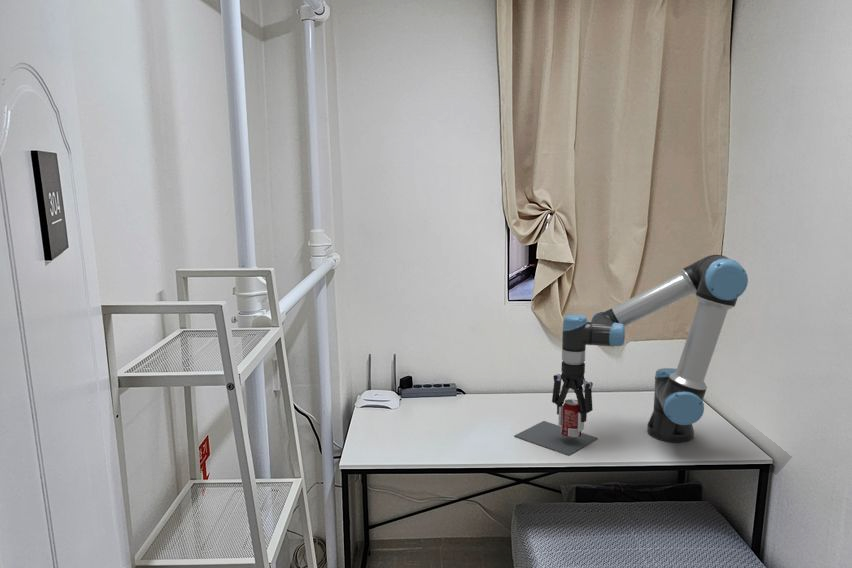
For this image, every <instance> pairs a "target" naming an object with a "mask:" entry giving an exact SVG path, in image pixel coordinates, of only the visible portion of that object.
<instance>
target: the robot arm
mask: <svg viewBox="0 0 852 568" xmlns="http://www.w3.org/2000/svg"><path fill="white" fill-rule="evenodd" d="M748 277H749V276H748V273H747V271H746V270H745V268H744V267H743V265H741V263H739V262H738V261H736V260H733V259H731V258H729V257H727V256H725V255H723V254H711V255H707V256H704V257H703V258H701V259H698V260H697V261H694V262H693V263H691V264H690V265H689V264H688V265H687V266H686V267H683V268H682V269H681V271H680V273H678V274H676V275H675V276H673V277H670V278H668V279H667V280H665V281H662V282H661V283H659V284H657V285H655V286H653V287H651V288H649V289H647V290H645V291H643V292H641V293H638V294H637V295H635V296H633V297H631V298H630V299H628V300H625V301H623V302H621V303H619V304H617V305H615V306H614V307H611V308H609V309H607V310H604V311H599V312H596V313H594V314H593V315H592V318H591V321H588V319H587V316H585V315H582V314H566V315H565V316H564V317H563V320H562V321H563V322H562V337H561V339H562V341H561V342H562V344H561V346H562V347H561V360H562V362H561V374H560V373H556V374H554V375H553V388H552V389H553V390H552V399H551V402H552V404H555V405H556V414H557V415H558V424H557V425H559V426H561V421H562V407H563V405H564V403H565V400H566V397H567V395H568V392H569V390H570V389H571V390H573V392H574V393H575V396H576V400H578V404H579V408H580V411H581V412H579V413H578V432H580V431H581V432H582V431H584V430H585V423H586V422H587V416H588V415H587V414H588V413H590V412H592V411H593V395H592V389H593V384H594V383H593V382H592V381H587V380H586V378H585V371H586V363H585V362H586V348H587V347H586V346H599V347H601V346H602V347H622V346H623V345H624V343H625V339H626V332H625V331H626V329H625V328H626V326H628V325H630V324H633V323H636V321H639V320H641V319H643V318H645V317H647V316H649V315H651V314H653V313H655V312H657V311H659V310H662V309H663V308H665V307H668V306H670V305H672V304H674V303H676V302H677V301H680V300H681V299H684V298H686V297H688V296H690V295H695V297H696V299H697V301H698V303H697V307H696V310H695V313H694V316H693V318H692V320H691V321H692V322H691V324H690V327H689V330H688V334H687V337H686V340H685V343H684V347H683V349H682V351H681V352H682V353H681V355H680V359H679V361H678V364H677V368H670V367H669V368H668V367H664V368H663V367H662V368H658V369H656V371H655V377H654V397H653V411H652V413H651V415H650V418H649V421H648V422H647V426H646V431H647V434H648V435H649V436H651V437H652V438H655V439H657V440H660V441H663V442H669V443H687V442H690V441H691V440H693V439H694V435H695V430H694V426H693V424H695V423H697V422H699V420H700V419H701V418H702V417H703V415H704V413H705V403H704V399H705V398H704V397H705V394H706V392H707V389H708V386H707V385H706V383H705V378H706V375H707V373H708V370H709V367H710V363H711V361H712V358H713V355H714V353H715V349H716V346H717V343H718V339H719V337H720V335H721V332H722V328H723V326H724V322H725V319H726V316H727V314H728V311H729V310H731V309H732V308H735V307H736V304H737V301H738V298H740V296H742V295H743V294H744V293H745V291H746V290H747V287H748V284H749V278H748ZM562 382H563V384H562ZM561 386H562V387H561ZM583 388H584V389H583Z"/></svg>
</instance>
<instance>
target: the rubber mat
mask: <svg viewBox="0 0 852 568" xmlns="http://www.w3.org/2000/svg"><path fill="white" fill-rule="evenodd" d="M513 436H514V438H517V439H520V440H522V441H525V442H529V443H532V444H534V445H537V446H540V447H543V448H546V449H549V450H551V451H554V452H557V453H560V454H562V455H566V456H568V457H570V456H571V455H573V454H575V453H577V452H579V451H581V450H582V449H583V448H585V447H587V446H588V445H590V444H592V443H593V442H595V441H597V440H598V439H599V438H598V437H596V436H592V435H591V434H590V435H589V434H587V433H584V432H581V437H579V438H577V439H569V438H565V437H564V436H563V435H561V426H560V425H558V424H555V423H552V422H549V421H546V420H542V421H540V422H538V423H537V424H534V425H533V426H531V427H529V428H526V429H525V430H523V431H521V432H518V433H515V434H514V435H513Z"/></svg>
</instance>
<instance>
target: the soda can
mask: <svg viewBox="0 0 852 568" xmlns="http://www.w3.org/2000/svg"><path fill="white" fill-rule="evenodd" d="M562 405H563V407H562V421H561V435H563V436H564V437H565V438H569V439H577V438H579V437H581V433H582V431H580V432H578V413H579V412H581V411H580V408H579V404H578V400H577V399H572V398H571V399H565V400H564V404H562Z"/></svg>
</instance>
